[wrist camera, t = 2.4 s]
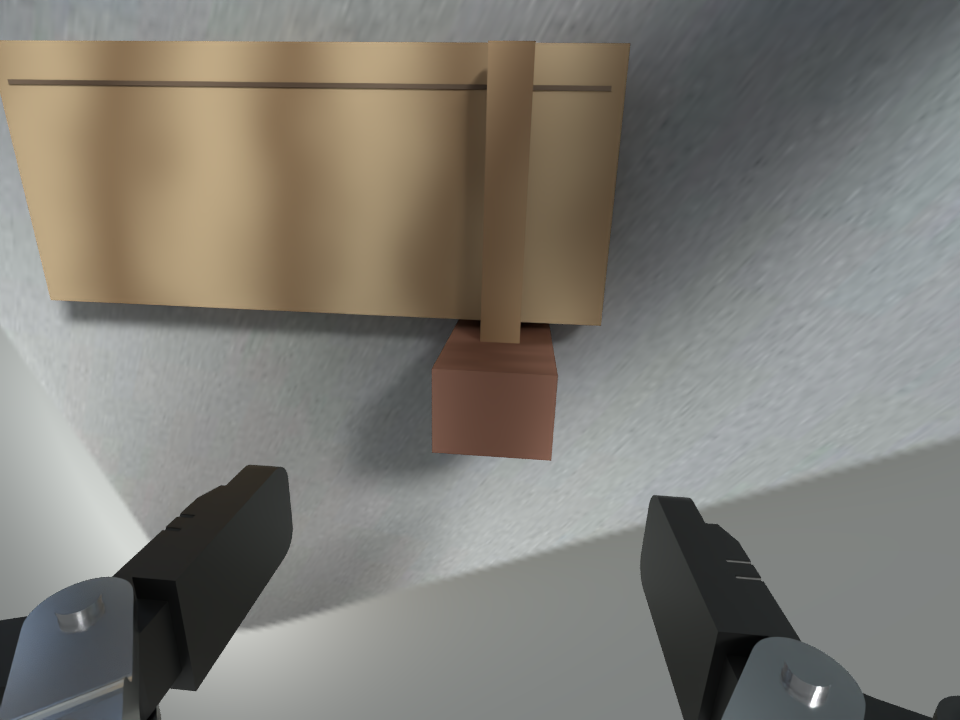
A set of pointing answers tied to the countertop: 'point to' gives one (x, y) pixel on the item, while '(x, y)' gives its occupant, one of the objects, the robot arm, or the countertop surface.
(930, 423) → the countertop surface
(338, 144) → the board
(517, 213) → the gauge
